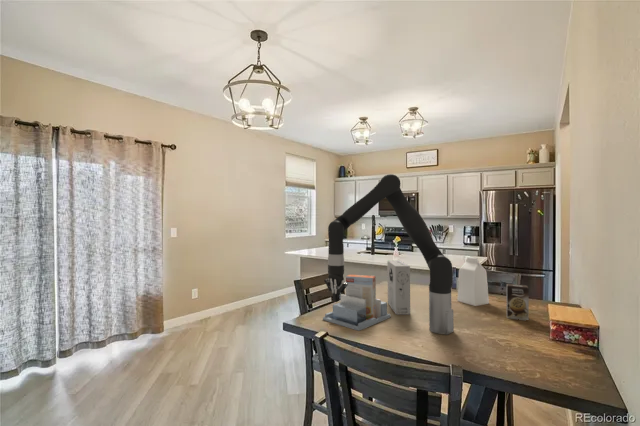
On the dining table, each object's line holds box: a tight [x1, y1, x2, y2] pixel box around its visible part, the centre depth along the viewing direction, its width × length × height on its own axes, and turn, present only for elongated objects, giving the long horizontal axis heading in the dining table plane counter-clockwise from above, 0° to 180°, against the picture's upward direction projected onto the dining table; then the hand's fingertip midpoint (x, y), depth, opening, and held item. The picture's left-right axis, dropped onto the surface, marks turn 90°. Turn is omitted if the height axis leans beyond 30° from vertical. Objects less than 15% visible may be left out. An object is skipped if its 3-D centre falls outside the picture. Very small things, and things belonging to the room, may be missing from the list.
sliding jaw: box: [332, 293, 366, 326], centre depth 153 cm, size 19×7×11 cm, turn 46°
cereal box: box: [386, 259, 411, 315], centre depth 174 cm, size 22×8×25 cm, turn 179°
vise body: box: [322, 298, 392, 332], centre depth 157 cm, size 22×26×9 cm
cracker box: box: [345, 274, 377, 320], centre depth 159 cm, size 14×6×21 cm, turn 65°
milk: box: [456, 256, 490, 307], centre depth 186 cm, size 12×12×26 cm
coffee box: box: [506, 283, 530, 321], centre depth 157 cm, size 9×6×16 cm
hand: (335, 301), depth 146 cm, fingers closed
